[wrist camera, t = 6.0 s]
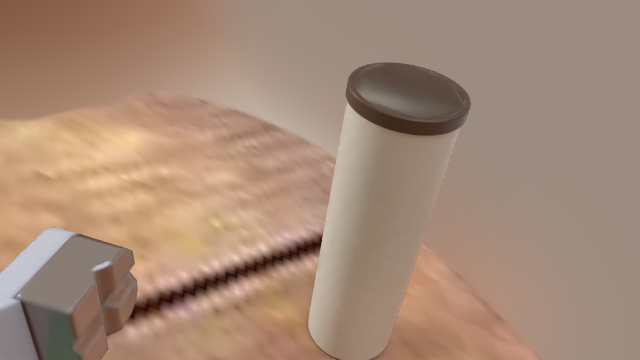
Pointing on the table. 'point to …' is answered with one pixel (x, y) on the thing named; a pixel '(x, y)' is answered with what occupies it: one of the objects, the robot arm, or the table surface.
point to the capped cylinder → (381, 201)
